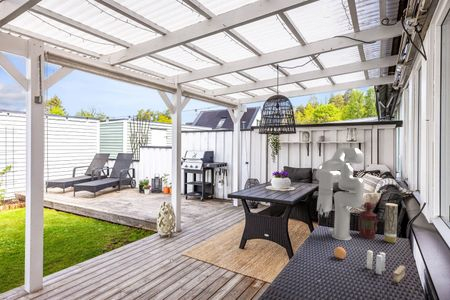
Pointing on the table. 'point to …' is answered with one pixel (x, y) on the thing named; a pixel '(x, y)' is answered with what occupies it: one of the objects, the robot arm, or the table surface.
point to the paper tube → (390, 222)
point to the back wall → (399, 274)
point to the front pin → (369, 259)
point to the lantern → (367, 221)
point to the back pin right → (379, 264)
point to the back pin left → (383, 261)
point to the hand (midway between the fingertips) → (324, 223)
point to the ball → (340, 252)
